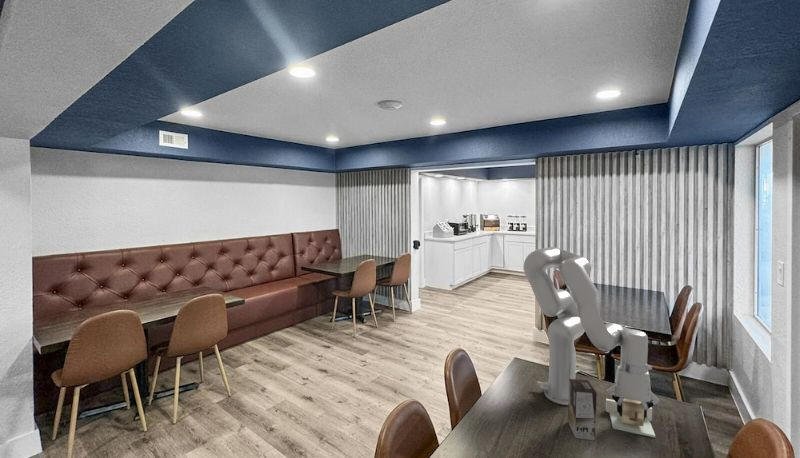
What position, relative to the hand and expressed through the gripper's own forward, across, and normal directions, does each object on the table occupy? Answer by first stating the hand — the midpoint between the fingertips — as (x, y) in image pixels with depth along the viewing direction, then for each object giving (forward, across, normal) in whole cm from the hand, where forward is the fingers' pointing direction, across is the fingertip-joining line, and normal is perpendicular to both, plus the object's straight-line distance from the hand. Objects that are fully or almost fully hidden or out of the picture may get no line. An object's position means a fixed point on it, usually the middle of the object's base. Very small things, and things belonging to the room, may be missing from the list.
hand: (631, 416), depth 122 cm
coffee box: (+4, +16, +10) cm, 19 cm away
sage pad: (+3, 0, 0) cm, 3 cm away
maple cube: (+1, 0, 0) cm, 1 cm away
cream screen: (+3, 0, -6) cm, 7 cm away
